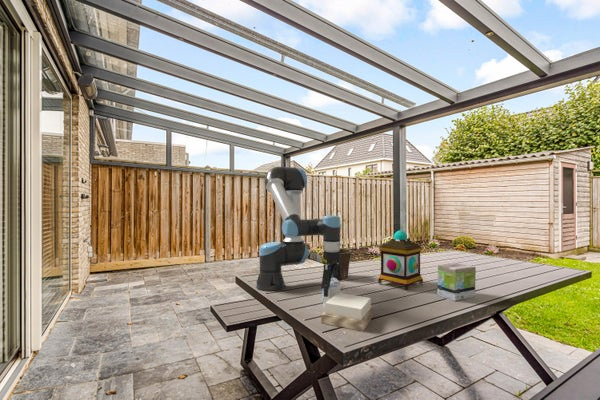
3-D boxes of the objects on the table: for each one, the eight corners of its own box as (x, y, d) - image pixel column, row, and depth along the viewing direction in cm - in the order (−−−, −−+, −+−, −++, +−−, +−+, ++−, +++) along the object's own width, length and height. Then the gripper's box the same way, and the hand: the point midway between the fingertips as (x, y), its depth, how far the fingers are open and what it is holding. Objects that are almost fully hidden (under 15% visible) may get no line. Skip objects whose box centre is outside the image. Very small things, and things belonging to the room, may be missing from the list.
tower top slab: (324, 313, 114) (324, 302, 114) (337, 302, 126) (337, 292, 126) (361, 320, 107) (361, 309, 107) (370, 308, 120) (370, 298, 120)
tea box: (455, 301, 137) (455, 269, 137) (436, 295, 146) (436, 265, 146) (476, 297, 144) (476, 266, 144) (456, 291, 153) (456, 262, 153)
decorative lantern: (407, 292, 151) (407, 232, 151) (374, 284, 166) (374, 230, 166) (426, 285, 164) (426, 230, 164) (394, 278, 179) (394, 227, 179)
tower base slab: (321, 324, 113) (321, 314, 113) (335, 310, 127) (335, 301, 127) (363, 333, 106) (363, 321, 106) (373, 317, 120) (373, 307, 120)
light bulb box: (321, 300, 138) (321, 277, 138) (336, 300, 138) (336, 277, 138) (325, 309, 127) (325, 283, 127) (341, 308, 128) (341, 283, 128)
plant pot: (353, 281, 172) (353, 253, 172) (325, 280, 173) (325, 252, 173) (349, 274, 189) (349, 248, 189) (323, 274, 189) (323, 248, 189)
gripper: (330, 255, 120) (330, 309, 120) (348, 247, 142) (348, 292, 142) (313, 254, 123) (313, 306, 123) (333, 246, 145) (333, 290, 145)
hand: (331, 299), depth 133 cm, fingers closed on light bulb box, 12 cm apart
